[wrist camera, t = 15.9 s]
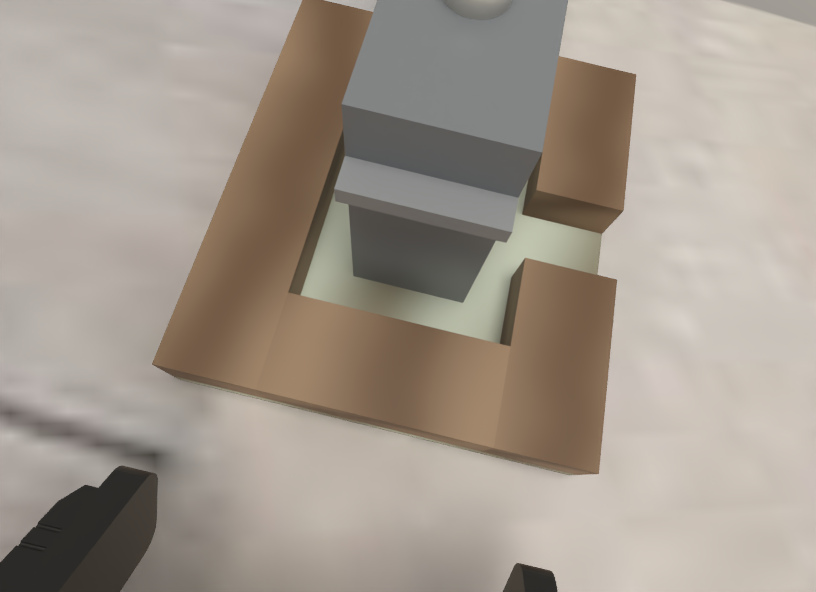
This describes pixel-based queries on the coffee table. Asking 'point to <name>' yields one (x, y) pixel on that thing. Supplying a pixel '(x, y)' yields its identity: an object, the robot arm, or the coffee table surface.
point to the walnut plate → (401, 308)
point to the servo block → (444, 135)
